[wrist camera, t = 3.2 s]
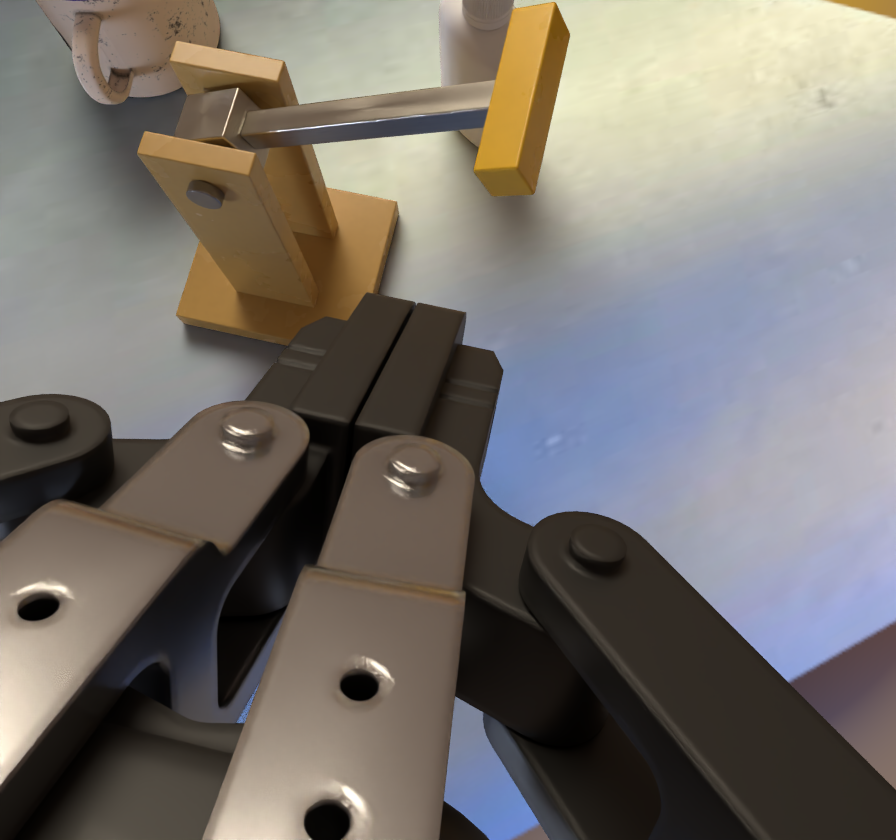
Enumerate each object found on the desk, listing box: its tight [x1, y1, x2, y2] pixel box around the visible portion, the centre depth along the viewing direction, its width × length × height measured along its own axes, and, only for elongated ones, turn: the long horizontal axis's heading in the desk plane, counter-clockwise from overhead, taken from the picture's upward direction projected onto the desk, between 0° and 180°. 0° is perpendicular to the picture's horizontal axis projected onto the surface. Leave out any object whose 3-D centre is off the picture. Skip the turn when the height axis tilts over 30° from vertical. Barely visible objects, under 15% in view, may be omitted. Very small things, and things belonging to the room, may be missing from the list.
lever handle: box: [174, 2, 570, 197], centre depth 29 cm, size 15×6×2 cm, turn 77°
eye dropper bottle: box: [439, 0, 516, 147], centre depth 41 cm, size 4×6×12 cm
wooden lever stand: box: [137, 41, 399, 346], centre depth 38 cm, size 10×9×15 cm
